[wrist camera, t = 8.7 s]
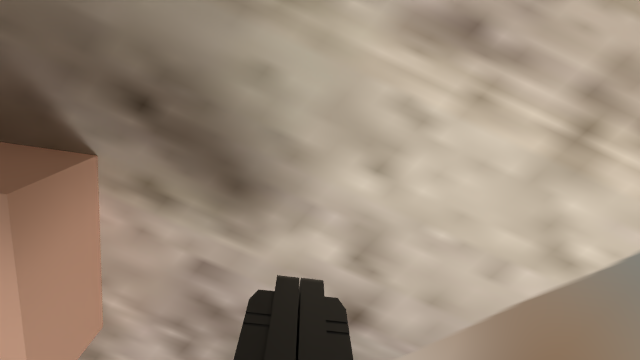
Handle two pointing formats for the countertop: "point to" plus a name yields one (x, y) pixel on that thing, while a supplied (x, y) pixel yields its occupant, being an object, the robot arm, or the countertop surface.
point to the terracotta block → (48, 253)
